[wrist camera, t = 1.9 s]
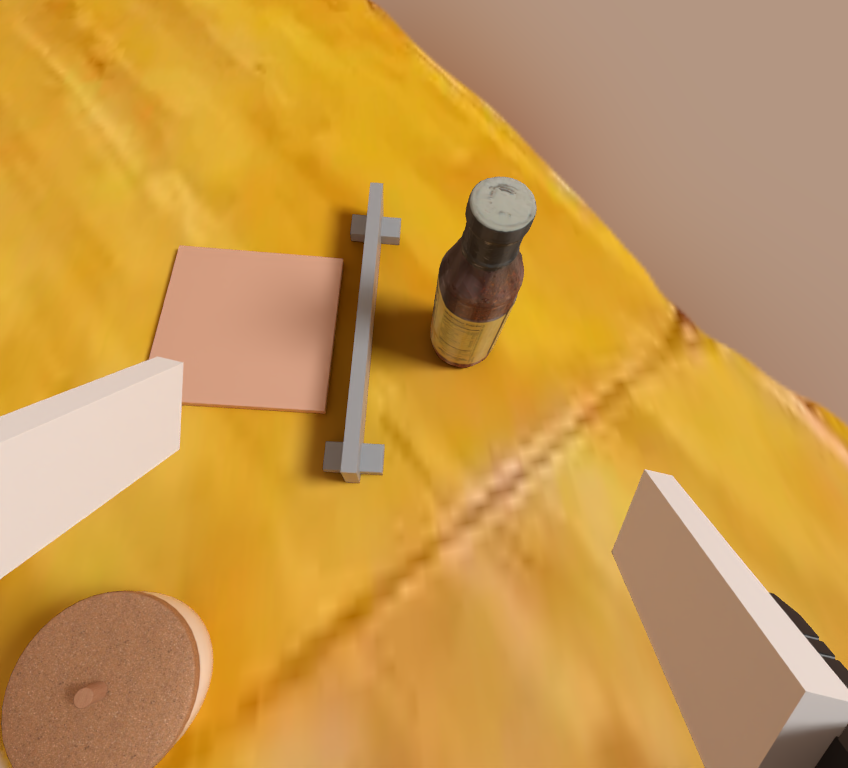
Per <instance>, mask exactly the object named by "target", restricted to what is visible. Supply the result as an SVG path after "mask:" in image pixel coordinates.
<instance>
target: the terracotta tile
mask: <svg viewBox="0 0 848 768" xmlns="http://www.w3.org/2000/svg"><path fill="white" fill-rule="evenodd" d="M343 264H344V263H343V259H341V258H329V257H316V256H304V255H291V254H279V253H266V252H254V251H241V250H229V249H216V248H204V247H191V246H179V249H178V253H177V256H176V260H175V264H174V267H173V271H172V275H171V279H170V282H169V286H168V290H167V294H166V297H165V301H164V305H163V308H162V312H161V316H160V320H159V323H158V327H157V331H156V334H155V338H154V342H153V346H152V349H151V353H150V357H149V360H150V359H152V358H155V357H157V356H158V357H162V358H166V359H171V360H175V361H179V362H184V363H183V384H182V405H193V406H209V407H225V408H242V409H258V410H274V411H290V412H306V413H322V414H326V406H327V397H328V389H329V381H330V372H331V364H332V356H333V347H334V339H335V331H336V322H337V314H338V306H339V298H340V289H341V281H342V273H343Z"/></svg>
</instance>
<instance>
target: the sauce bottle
mask: <svg viewBox="0 0 848 768" xmlns="http://www.w3.org/2000/svg"><path fill="white" fill-rule="evenodd" d="M535 214H536V202H535V199H534V195H533V194H532V192H531V191H530V190H529V189H528V188H527V187H526V186H525V185H524V184H523V183H521V182H519V181H517V180H515V179H513V178H508V177H494V178H487V179H485V180H483V181H480V182H479V183H478V184H477V185H476V186H475V187H474V189H473V190H472V192H471V194H470V197H469V200H468V203H467V207H466V221H467V222H466V227H465V230H464V232H463V235H462V237H461V238H460V239H459V240H458V241H457V243H456V244H455V245H454V246H453V247H452V248H450V249H449V250H448V252H447V253H446V254H445V255H444V257H443V259H442V262H441V264H440V268H439V274H438V281H437V287H436V294H435V300H434V308H433V315H432V321H431V329H430V335H431V341H432V344H433V347H434V350H435V352H436V353H437V355H438V356H439V358H440V359H442V360H444V361H445V362H446V363H448V364H451V365H453V366H457V367H460V368H465V367H469V366H473V365H475V364H477V363H479V362H481V361H483V360H484V359H485V358H486V357H487V356H488V354H489V353H490V352H491V350H492V349H493V347H494V345H495V343H496V341H497V339H498V337H499V335H500V333H501V331H502V328H503V326H504V324H505V322H506V320H507V318H508V316H509V314H510V312H511V309H512V307H513V305H514V303H515V301H516V298H517V294H518V291H519V289H520V287H521V285H522V281H523V276H524V266H523V261H522V255H521V253H520V252H519V246H520V243H521V241H522V239H523V237H524V235H525V234H526V233H527V232H528V230H529V229H530V227H531V224H532V222H533V220H534V217H535Z"/></svg>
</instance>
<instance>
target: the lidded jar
mask: <svg viewBox="0 0 848 768" xmlns="http://www.w3.org/2000/svg"><path fill="white" fill-rule="evenodd" d="M212 670H213V649H212V644H211V639H210V636H209V633H208V631H207V628H206V626H205V624H204V623H203V621H202V620H201V618H200V617H199V616H198V614H197V613H196V612H195V611H194V610H193V609H192V608H190V607H189V606H188V605H186V604H185V603H183V602H182V601H180V600H178V599H175V598H173V597H171V596H168V595H164V594H161V593H155V592H145V591H116V592H107V593H103V594H99V595H94V596H92V597H89V598H86V599H84V600H81V601H79V602H77V603H75V604H74V605H72V606H70V607H68V608H66V609H65V610H63V611H62V612H61V613H59V614H58V615H57V616H55V617H54V618H52V619H51V620H50V621H49V622H48V623H47V624H46V625H45V626H44V627H43V628H42V629H41V630H40V631H39V632H38V633H37V634H36V635H35V637H34V638H33V639H32V640H31V641H30V643H29V644H28V645H27V647H26V649H25V650H24V652H23V653H22V655H21V656H20V658H19V660H18V662H17V664H16V666H15V668H14V670H13V672H12V674H11V677H10V680H9V682H8V685H7V688H6V692H5V696H4V701H3V706H2V722H1V725H2V737H3V743H4V746H5V749H6V753H7V756H8V758H9V760H10V762H11V764H12V767H13V768H153V767H154V766H155V765H157V764H158V763H159V762H160V760H161V759H162V758H163V757H164V756H165V755H166V754H167V753H168V751H169V750H170V749H171V748H172V747H173V746H174V745H175V744H176V742H177V741H178V740H179V739H180V738H181V737H182V736H183V734H184V733H185V732H186V730H187V729H188V727H189V726H190V724H191V723H192V721H193V720H194V719H195V717H196V716H197V714H198V712H199V710H200V708H201V706H202V704H203V702H204V699H205V696H206V694H207V691H208V688H209V685H210V681H211V676H212Z"/></svg>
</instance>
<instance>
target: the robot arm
mask: <svg viewBox="0 0 848 768" xmlns="http://www.w3.org/2000/svg"><path fill="white" fill-rule="evenodd" d="M183 363H184V362H179V361H175V360H171V359H166V358H162V357H158V356H157V357H155V358H152V359H150V360H147V361H144V362H142V363H139V364H137V365H134V366H131V367H129V368H126V369H123V370H121V371H118V372H116V373H113V374H110V375H108V376H105V377H103V378H100V379H97V380H95V381H92V382H89V383H87V384H84V385H82V386H79V387H76V388H74V389H71V390H69V391H66V392H63V393H61V394H58V395H55V396H53V397H50V398H48V399H45V400H42V401H40V402H37V403H35V404H32V405H29V406H27V407H24V408H21V409H19V410H16V411H14V412H11V413H8V414H6V415H3V416H1V417H0V579H1V578H2V577H4V576H5V575H7V574H8V573H9V572H11V571H12V570H13V569H15V568H16V567H18V566H19V565H20V564H22V563H23V562H24V561H26V560H27V559H29V558H30V557H31V556H33V555H34V554H35V553H37V552H38V551H40V550H41V549H42V548H44V547H45V546H47V545H48V544H49V543H51V542H52V541H53V540H55V539H56V538H58V537H59V536H60V535H62V534H63V533H64V532H66V531H67V530H69V529H70V528H71V527H73V526H74V525H75V524H77V523H78V522H80V521H81V520H82V519H84V518H85V517H87V516H88V515H89V514H91V513H92V512H93V511H95V510H96V509H98V508H99V507H100V506H102V505H103V504H104V503H106V502H107V501H109V500H110V499H111V498H113V497H114V496H115V495H117V494H118V493H120V492H121V491H122V490H124V489H125V488H127V487H128V486H129V485H131V484H132V483H133V482H135V481H136V480H138V479H139V478H140V477H142V476H143V475H144V474H146V473H147V472H149V471H150V470H151V469H153V468H154V467H156V466H157V465H158V464H160V463H161V462H162V461H164V460H165V459H167V458H168V457H169V456H171V455H172V454H173V453H175V452H176V451H178V450H179V448H180V427H181V406H182V384H183ZM612 554H613V556H614V559H615V561H616V563H617V566H618V568H619V570H620V573H621V575H622V577H623V579H624V582H625V584H626V586H627V589H628V591H629V593H630V596H631V598H632V600H633V603H634V605H635V607H636V609H637V612H638V614H639V616H640V619H641V621H642V623H643V626H644V628H645V630H646V633H647V635H648V637H649V639H650V642H651V644H652V646H653V649H654V651H655V653H656V656H657V658H658V660H659V663H660V665H661V667H662V669H663V672H664V674H665V676H666V679H667V681H668V683H669V686H670V688H671V690H672V693H673V695H674V697H675V700H676V702H677V704H678V706H679V709H680V711H681V713H682V716H683V718H684V720H685V723H686V725H687V727H688V730H689V732H690V734H691V736H692V739H693V741H694V743H695V746H696V748H697V750H698V753H699V755H700V757H701V760H702V762H703V764H704V766H705V768H848V670H847V669H846V668H845V667H844V666H843V665H842V663H841V662H840V661H838V660H835V655H834V654H833V653H832V652H831V651H830V649H829V648H828V647H827V646H826V645H825V644H824V642H822V641H819V637H818V635H817V634H816V633H815V632H814V631H813V630H812V628H811V627H810V626H809V625H808V624H807V623H806V621H805V620H804V619H803V618H802V617H801V616H800V615H799V614H798V613H797V612H796V611H794V610H793V609H792V608H791V607H790V606H788V605H787V604H786V603H785V602H783V601H782V600H781V599H780V598H778V597H777V596H776V595H775V594H773V593H769V592H768V591H767V590H766V589H765V588H764V586H763V585H762V584H761V583H760V582H759V580H758V579H757V578H756V577H755V575H754V574H753V573H752V572H751V571H750V569H749V568H748V567H747V566H746V565H745V563H744V562H743V561H742V560H741V558H740V557H739V556H738V555H737V554H736V552H735V551H734V550H733V549H732V548H731V546H730V545H729V544H728V543H727V541H726V540H725V539H724V538H723V537H722V535H721V534H720V533H719V532H718V531H717V529H716V528H715V527H714V526H713V524H712V523H711V522H710V521H709V520H708V518H707V517H706V516H705V515H704V514H703V512H702V511H701V510H700V509H699V507H698V506H697V505H696V504H695V503H694V501H693V500H692V499H691V498H690V497H689V495H688V494H687V493H686V492H685V490H684V489H683V488H682V487H681V486H680V484H679V483H678V482H677V481H676V480H675V478H674V477H673V476H671V475H667V474H663V473H658V472H654V471H650V470H645V469H644V472H643V474H642V477H641V479H640V482H639V485H638V487H637V490H636V492H635V495H634V497H633V500H632V502H631V505H630V507H629V510H628V512H627V515H626V517H625V520H624V522H623V525H622V527H621V530H620V532H619V535H618V537H617V540H616V542H615V545H614V547H613V550H612Z"/></svg>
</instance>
